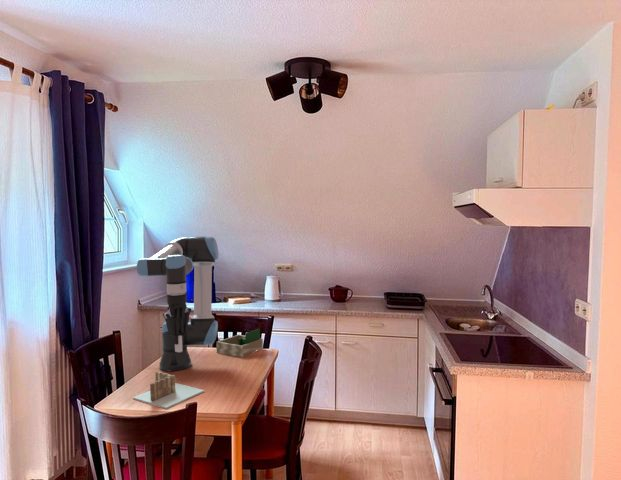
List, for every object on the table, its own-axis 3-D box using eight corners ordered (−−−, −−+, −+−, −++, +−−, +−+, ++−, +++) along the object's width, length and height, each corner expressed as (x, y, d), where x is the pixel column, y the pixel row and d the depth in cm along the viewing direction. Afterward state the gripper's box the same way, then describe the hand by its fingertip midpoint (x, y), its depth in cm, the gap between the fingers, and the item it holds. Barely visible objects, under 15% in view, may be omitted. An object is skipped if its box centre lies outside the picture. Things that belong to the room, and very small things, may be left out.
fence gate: (168, 392, 183) (168, 375, 183) (171, 392, 182) (171, 376, 182) (149, 400, 175) (149, 383, 174) (152, 401, 174) (151, 384, 174)
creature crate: (216, 352, 241) (216, 341, 241) (238, 344, 257) (238, 334, 256) (241, 357, 232) (241, 346, 232) (262, 349, 247) (262, 338, 247)
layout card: (132, 398, 179) (132, 397, 179) (171, 383, 196) (171, 381, 196) (166, 409, 169) (166, 407, 169) (204, 391, 186) (204, 390, 186)
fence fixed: (154, 389, 189) (154, 371, 188) (158, 388, 190) (158, 370, 190) (172, 394, 183) (172, 376, 182) (176, 393, 184) (176, 374, 184)
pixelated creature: (243, 346, 253) (243, 326, 253) (260, 349, 247) (259, 328, 246) (229, 352, 243) (229, 330, 243) (246, 355, 237) (246, 333, 236)
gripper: (170, 297, 169) (172, 357, 170) (195, 291, 180) (197, 348, 181) (157, 295, 173) (159, 354, 174) (182, 290, 184) (184, 345, 185)
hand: (178, 351), depth 178 cm, fingers closed
